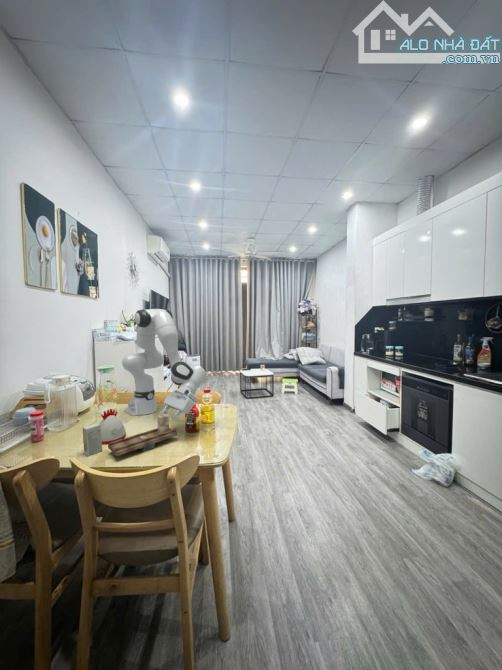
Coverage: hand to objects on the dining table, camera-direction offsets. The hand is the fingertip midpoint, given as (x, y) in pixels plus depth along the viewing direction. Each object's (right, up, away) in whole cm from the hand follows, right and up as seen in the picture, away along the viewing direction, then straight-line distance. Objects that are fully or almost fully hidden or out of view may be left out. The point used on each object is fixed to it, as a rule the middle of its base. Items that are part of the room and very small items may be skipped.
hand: (168, 416), depth 131 cm
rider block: (-2, -7, -2) cm, 8 cm away
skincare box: (-30, -12, -13) cm, 35 cm away
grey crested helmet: (-30, -12, +1) cm, 32 cm away
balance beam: (-9, -12, -8) cm, 17 cm away
